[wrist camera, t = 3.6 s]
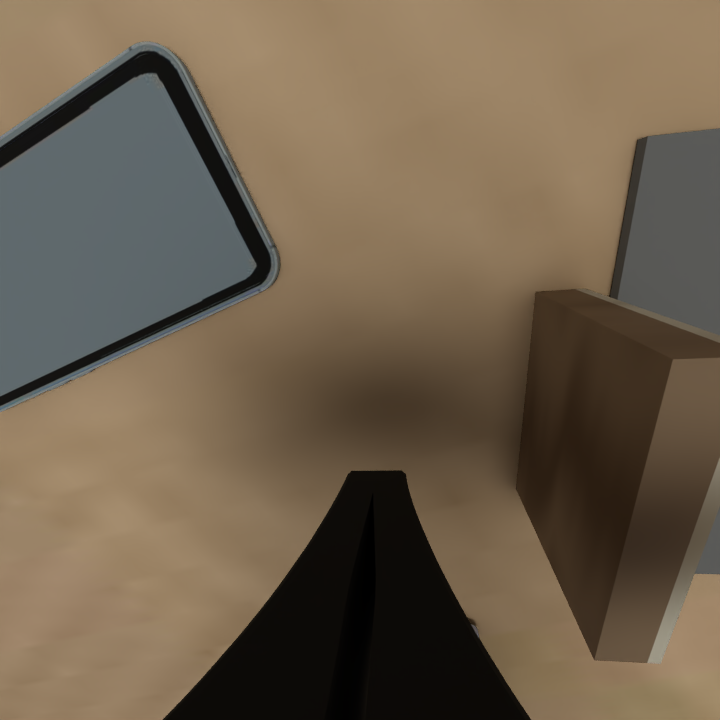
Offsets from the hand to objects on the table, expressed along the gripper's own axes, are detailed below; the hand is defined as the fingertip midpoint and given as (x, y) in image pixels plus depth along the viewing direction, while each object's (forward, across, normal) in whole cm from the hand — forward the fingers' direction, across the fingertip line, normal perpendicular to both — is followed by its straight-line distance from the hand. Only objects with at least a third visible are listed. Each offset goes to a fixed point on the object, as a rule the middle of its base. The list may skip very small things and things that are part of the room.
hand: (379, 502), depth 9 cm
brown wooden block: (+5, -6, 0) cm, 8 cm away
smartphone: (+6, +11, -6) cm, 14 cm away
